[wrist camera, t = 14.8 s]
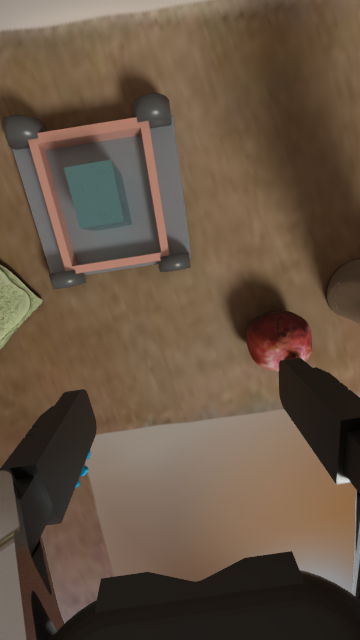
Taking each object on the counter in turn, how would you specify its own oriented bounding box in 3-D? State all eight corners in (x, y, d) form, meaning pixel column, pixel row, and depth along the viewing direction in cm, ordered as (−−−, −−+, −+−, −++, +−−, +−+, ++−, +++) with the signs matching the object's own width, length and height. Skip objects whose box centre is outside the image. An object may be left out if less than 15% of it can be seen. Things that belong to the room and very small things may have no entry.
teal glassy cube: (121, 175, 31) (111, 159, 25) (132, 224, 33) (124, 220, 27) (83, 181, 31) (63, 167, 25) (95, 231, 33) (80, 228, 27)
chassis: (171, 111, 30) (171, 90, 26) (191, 264, 36) (194, 267, 32) (14, 136, 30) (-11, 119, 26) (59, 285, 36) (44, 290, 32)
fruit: (253, 296, 38) (281, 313, 28) (306, 315, 39) (349, 338, 30) (230, 346, 40) (248, 378, 31) (280, 363, 42) (312, 399, 32)
